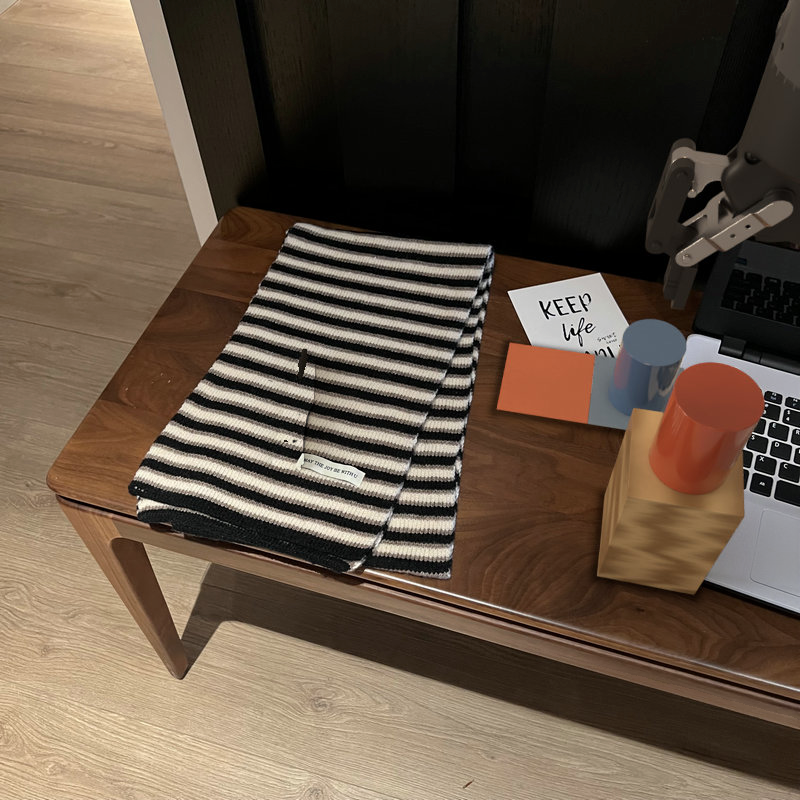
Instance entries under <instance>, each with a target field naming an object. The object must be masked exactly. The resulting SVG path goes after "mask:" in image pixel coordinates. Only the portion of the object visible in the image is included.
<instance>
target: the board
mask: <svg viewBox="0 0 800 800" xmlns="http://www.w3.org/2000/svg"><path fill="white" fill-rule="evenodd" d="M507 350H508V351H507V356H506V360H505V364H504V365H505V366H504V369H503V377H502V381H501V385H500V390H499V396H498V400H497V406H496V410H497V411H504V412H511V413H517V414H524V415H529V416H536V417H543V418H549V419H556V420H562V421H567V422H573V423H580V424H586V425H587V424H588V425H593V426H600V427H604V428H605V427H607V428H610V429H611V428H612V429H617V430H618V429H619V430H623V431H626V429H627V426H628V423H629V420H630V417H631V416H628V415H625V414H623V413H621V412H620V411H618V410H617V409H616V408H615V407H614V406H613V405H612V403H611V401H610V399H609V396H608V387H609V384H610V380H611V376H612V373H613V369H614V366H615V362H616V358H617V357H611V356H605V355H598V354H592V353H586V352H585V353H584V352H577V351H571V350H564V349H557V348H549V347H542V346H535V345H528V344H522V343H516V342H515V343H514V342H509V346H508V349H507ZM684 370H685V368H684V367H681V366H680V368H679V371H678V373H677V376H676V379H677V377H678V376H679V374H680V373H681V372H682V371H684ZM676 379H675V381H676ZM675 381H674V383H675ZM673 386H674V384H673ZM673 386H672V388H673ZM671 391H672V389H671ZM670 394H671V392H670ZM670 394H669V396H670ZM668 399H669V397H668ZM668 399H667V401H668ZM666 404H667V402H666ZM665 407H666V405H665ZM665 407H664V408H663V410H662V411H661V412H664V409H665Z"/></svg>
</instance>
